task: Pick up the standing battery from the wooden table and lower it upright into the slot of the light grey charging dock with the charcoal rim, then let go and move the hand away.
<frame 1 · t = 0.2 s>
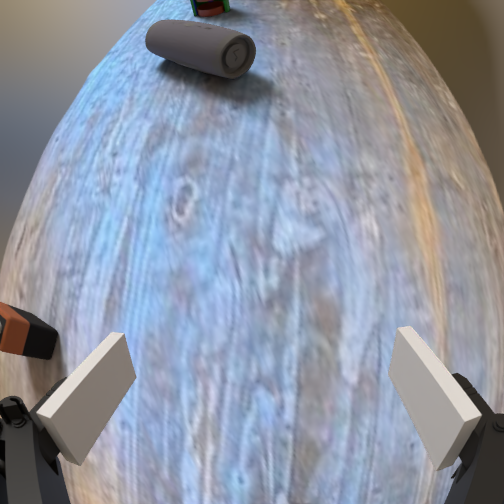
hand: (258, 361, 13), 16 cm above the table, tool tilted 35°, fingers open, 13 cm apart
battery: (41, 336, 31), on the table
bluetooth speaker: (200, 66, 48), on the table
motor: (212, 11, 61), on the table
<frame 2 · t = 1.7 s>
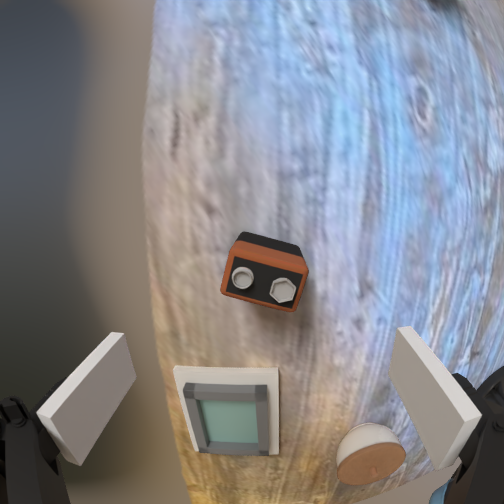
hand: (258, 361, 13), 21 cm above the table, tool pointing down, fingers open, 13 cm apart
battery: (266, 255, 33), on the table
lidded jar: (362, 433, 39), on the table
charging dock: (231, 414, 39), on the table
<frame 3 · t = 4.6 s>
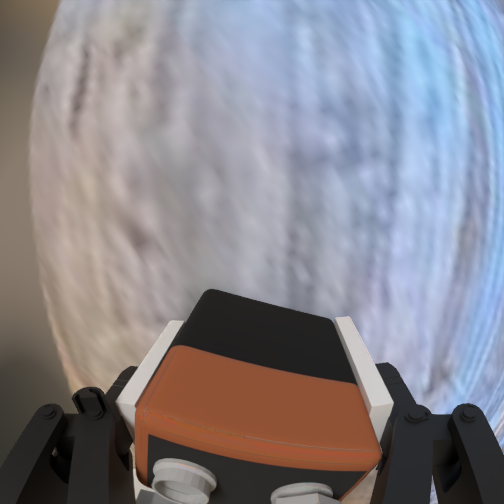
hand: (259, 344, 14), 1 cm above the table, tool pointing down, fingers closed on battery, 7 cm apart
battery: (261, 335, 15), on the table, touching gripper
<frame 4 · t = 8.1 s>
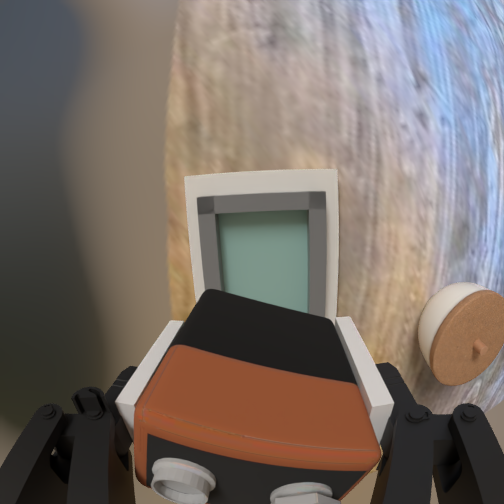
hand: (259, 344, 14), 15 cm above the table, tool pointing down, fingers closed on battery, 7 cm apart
battery: (260, 335, 15), point 14 cm above the table, touching gripper
lidded jar: (441, 312, 29), on the table
charging dock: (265, 264, 29), on the table
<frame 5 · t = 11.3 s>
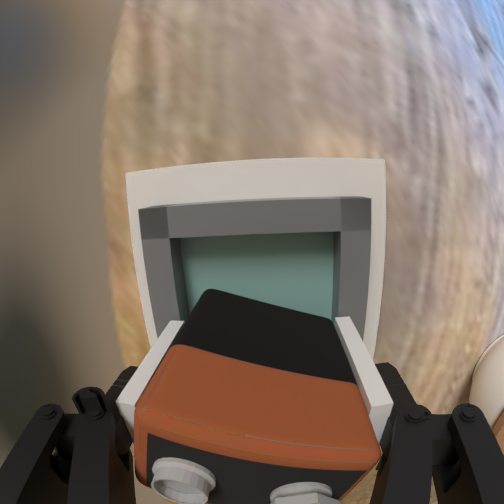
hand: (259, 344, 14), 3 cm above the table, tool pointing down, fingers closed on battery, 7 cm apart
battery: (260, 335, 15), point 2 cm above the table, touching gripper
lidded jar: (495, 361, 18), on the table
charging dock: (261, 316, 18), on the table
when the fingers open (3 cm above the table, at t = 11.6 s): battery drops 1 cm, resting on charging dock.
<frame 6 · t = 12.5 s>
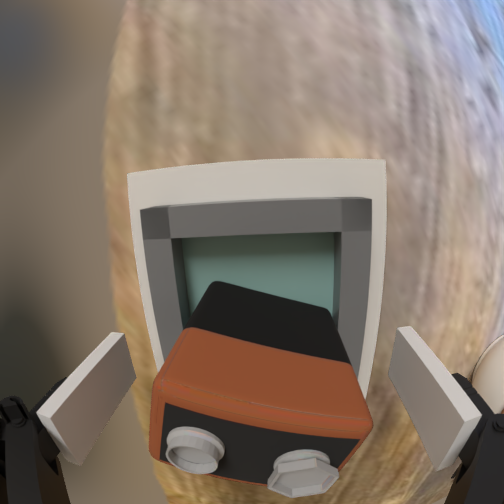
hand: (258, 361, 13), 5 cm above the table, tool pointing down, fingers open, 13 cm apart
battery: (262, 324, 16), point 1 cm above the table, touching charging dock
lidded jar: (495, 361, 18), on the table
charging dock: (262, 316, 18), on the table
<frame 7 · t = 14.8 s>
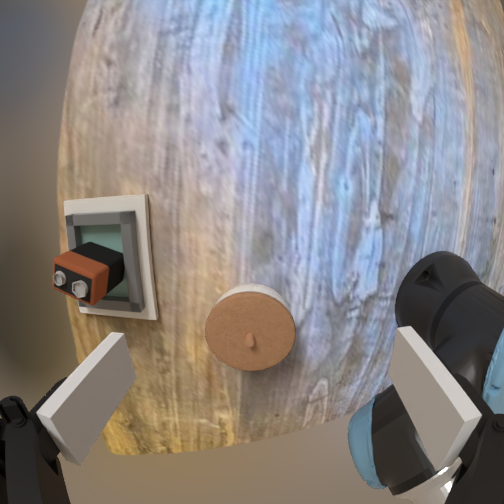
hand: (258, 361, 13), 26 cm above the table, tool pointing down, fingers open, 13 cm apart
battery: (106, 260, 39), point 1 cm above the table, touching charging dock
lidded jar: (252, 307, 41), on the table
charging dock: (109, 258, 40), on the table
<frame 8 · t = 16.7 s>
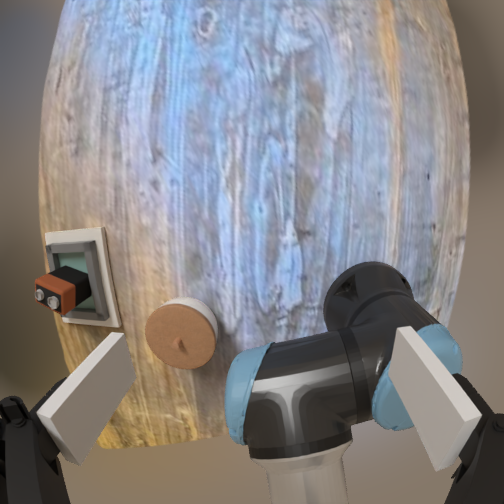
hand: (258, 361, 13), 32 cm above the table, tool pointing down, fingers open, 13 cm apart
battery: (78, 279, 46), point 1 cm above the table, touching charging dock
lidded jar: (192, 316, 48), on the table
charging dock: (81, 277, 47), on the table
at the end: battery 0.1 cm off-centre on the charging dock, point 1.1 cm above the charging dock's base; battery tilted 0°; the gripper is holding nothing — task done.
